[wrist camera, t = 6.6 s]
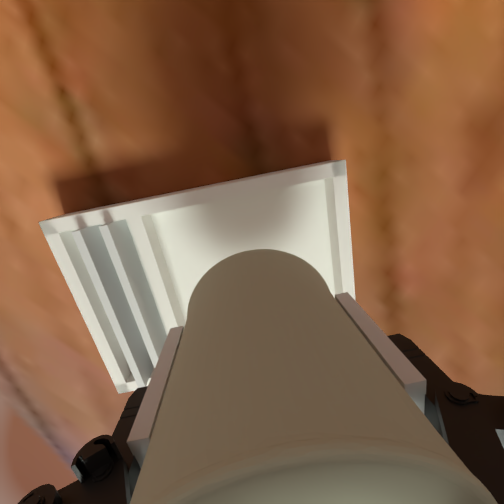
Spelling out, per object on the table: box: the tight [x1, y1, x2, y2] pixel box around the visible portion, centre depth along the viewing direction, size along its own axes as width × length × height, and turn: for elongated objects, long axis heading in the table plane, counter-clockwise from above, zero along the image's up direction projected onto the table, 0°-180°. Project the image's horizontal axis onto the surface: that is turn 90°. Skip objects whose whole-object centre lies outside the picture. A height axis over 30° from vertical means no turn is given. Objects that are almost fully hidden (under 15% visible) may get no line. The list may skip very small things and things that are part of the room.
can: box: [130, 249, 498, 504], centre depth 11 cm, size 9×9×12 cm
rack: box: [39, 160, 355, 394], centre depth 22 cm, size 16×22×4 cm
